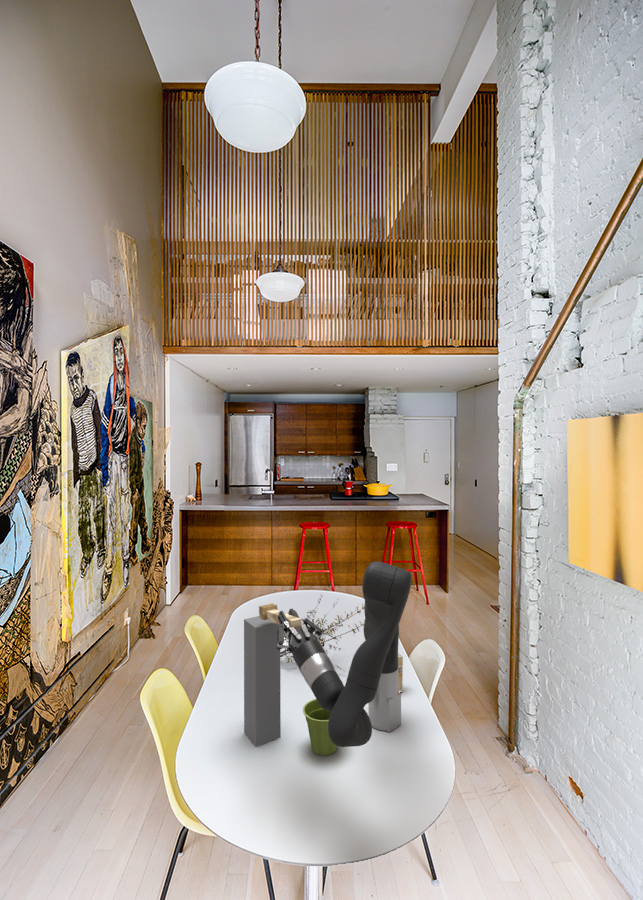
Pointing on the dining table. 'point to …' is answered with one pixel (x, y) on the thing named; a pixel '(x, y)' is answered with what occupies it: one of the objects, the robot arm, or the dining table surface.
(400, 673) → the supplement box
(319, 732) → the plant pot
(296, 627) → the hanging bar
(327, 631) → the dried plant
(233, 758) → the dining table surface
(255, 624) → the plinth
